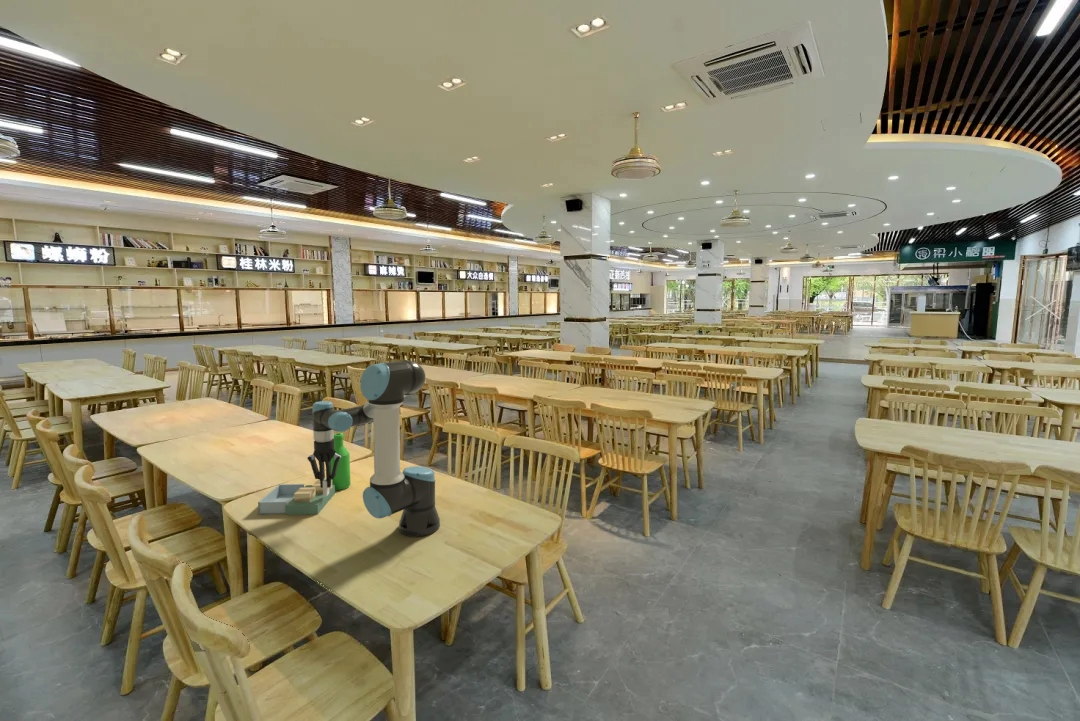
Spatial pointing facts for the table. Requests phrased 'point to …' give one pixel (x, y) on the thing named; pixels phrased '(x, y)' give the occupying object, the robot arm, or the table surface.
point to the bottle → (341, 464)
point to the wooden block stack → (317, 486)
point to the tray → (278, 499)
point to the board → (309, 504)
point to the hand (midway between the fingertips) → (326, 494)
